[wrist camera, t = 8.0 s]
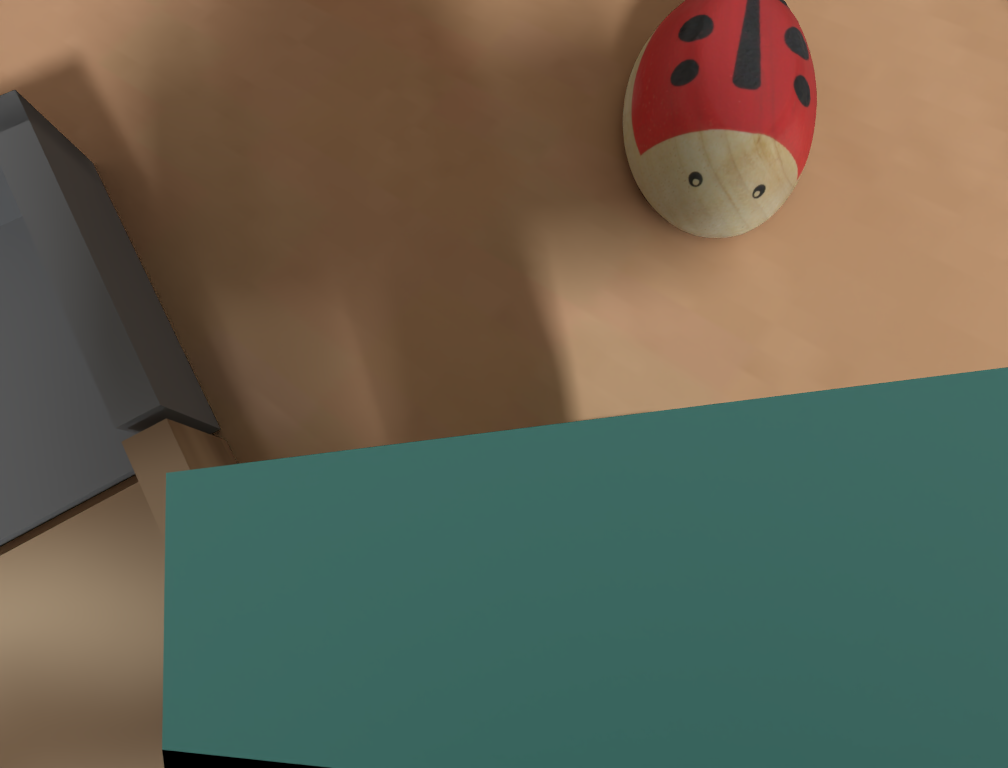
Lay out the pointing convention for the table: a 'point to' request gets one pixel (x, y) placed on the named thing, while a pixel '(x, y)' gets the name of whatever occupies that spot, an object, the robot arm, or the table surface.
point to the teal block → (607, 592)
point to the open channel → (94, 620)
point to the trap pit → (73, 331)
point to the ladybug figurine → (721, 114)
